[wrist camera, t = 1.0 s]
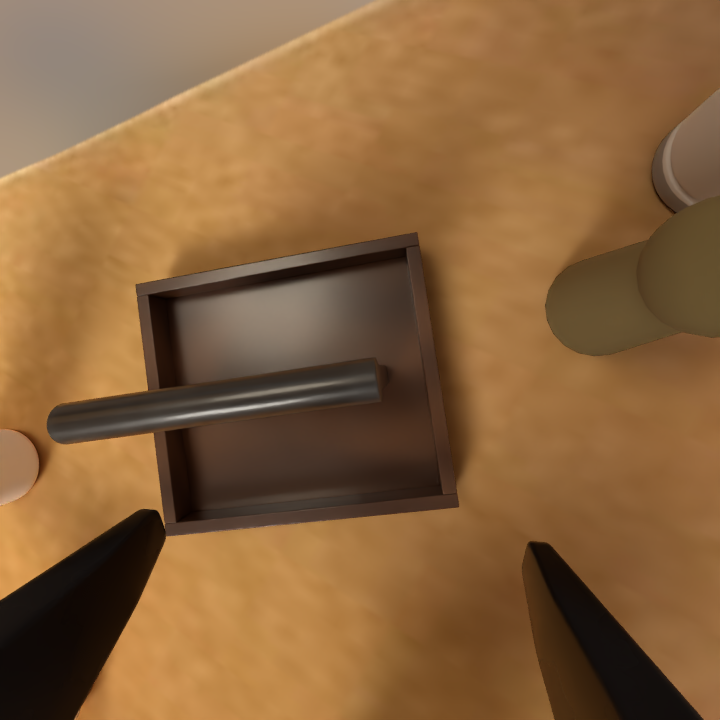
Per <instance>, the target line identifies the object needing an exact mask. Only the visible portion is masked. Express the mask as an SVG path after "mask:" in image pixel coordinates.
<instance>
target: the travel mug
mask: <svg viewBox="0 0 720 720" xmlns="http://www.w3.org/2000/svg"><path fill="white" fill-rule="evenodd" d="M652 177H653V183H654V186H655V189H656V191H657V193H658V194H659V196H660V198H661V199H662V200H663V201H664V203H665V204H666V205H667V206H668V207H670V208H671V209H672V210H674V211H675V212H677V213H678V212H679V211H681V210H683V209H684V208H687V207H689V206H691V205H693V204H696V203H698V202H700V201H702V200H705V199H707V198H711V197H715V196H719V195H720V88H719V89H718V90H717V91H715V92H714V93H713V94H712V95H711V96H710V97H709V98H708V99H707V100H705V101H704V102H703V103H702V104H701V105H700V106H699V107H698V108H696V109H695V110H694V111H693V112H692V113H691V114H690V115H689V116H688V117H687V118H686V119H684V120H683V121H682V122H681V123H680V124H679V125H677V126H676V127H675V128H674V129H673V130H672V131H671V132H670V133H669V134H668V135H667V136H666V137H665V138H664V139H663V140H662V142H661V143H660V145H659V147H658V148H657V150H656V153H655V156H654V159H653V165H652Z"/></svg>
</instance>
